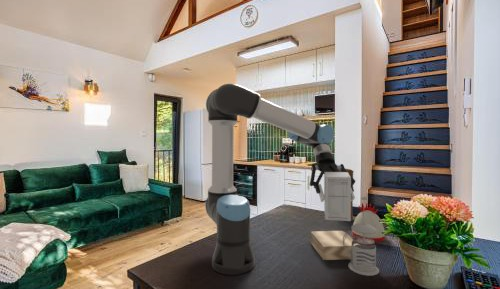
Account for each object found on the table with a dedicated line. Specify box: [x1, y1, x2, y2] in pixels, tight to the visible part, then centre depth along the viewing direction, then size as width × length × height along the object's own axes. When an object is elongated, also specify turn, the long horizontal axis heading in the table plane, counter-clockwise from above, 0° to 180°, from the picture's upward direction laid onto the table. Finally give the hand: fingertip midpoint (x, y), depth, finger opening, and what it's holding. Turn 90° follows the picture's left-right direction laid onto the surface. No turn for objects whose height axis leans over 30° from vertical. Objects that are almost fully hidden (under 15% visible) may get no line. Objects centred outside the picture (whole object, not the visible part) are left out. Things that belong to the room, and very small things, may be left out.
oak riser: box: [310, 230, 361, 261], centre depth 100 cm, size 14×15×5 cm
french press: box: [343, 195, 380, 277], centre depth 87 cm, size 10×12×25 cm
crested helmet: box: [351, 202, 386, 243], centre depth 116 cm, size 14×14×15 cm
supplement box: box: [323, 172, 352, 222], centre depth 98 cm, size 10×9×17 cm
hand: (338, 199), depth 97 cm, fingers closed on supplement box, 11 cm apart
